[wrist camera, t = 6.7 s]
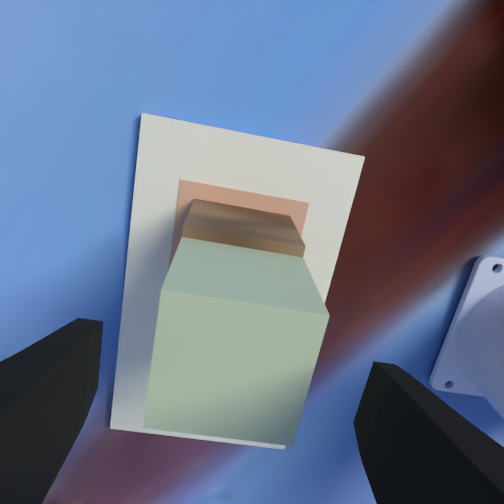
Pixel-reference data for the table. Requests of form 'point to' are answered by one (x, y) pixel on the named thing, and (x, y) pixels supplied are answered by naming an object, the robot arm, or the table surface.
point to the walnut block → (243, 228)
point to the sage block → (234, 343)
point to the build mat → (226, 192)
